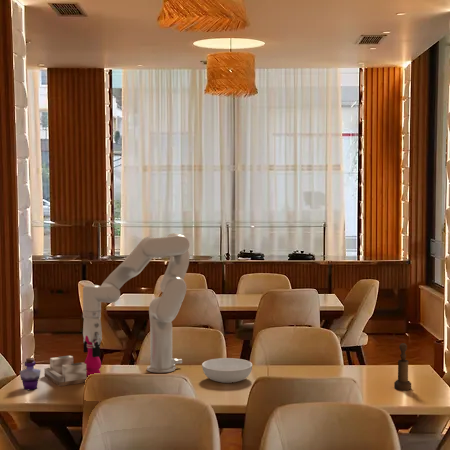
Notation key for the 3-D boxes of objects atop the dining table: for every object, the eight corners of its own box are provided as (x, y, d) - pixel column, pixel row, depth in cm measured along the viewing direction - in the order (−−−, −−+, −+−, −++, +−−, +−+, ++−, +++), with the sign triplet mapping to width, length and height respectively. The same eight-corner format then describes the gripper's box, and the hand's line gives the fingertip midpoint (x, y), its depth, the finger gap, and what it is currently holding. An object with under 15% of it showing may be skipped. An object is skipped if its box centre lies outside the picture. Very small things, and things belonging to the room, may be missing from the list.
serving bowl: (193, 383, 313) (193, 366, 312) (215, 371, 332) (215, 356, 331) (240, 389, 304) (240, 372, 304) (260, 377, 323) (260, 360, 323)
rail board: (71, 372, 330) (71, 354, 330) (87, 381, 315) (87, 363, 315) (44, 376, 324) (44, 358, 323) (59, 386, 309) (59, 367, 308)
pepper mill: (97, 377, 322) (97, 330, 320) (81, 377, 323) (81, 329, 322) (104, 373, 329) (103, 327, 327) (88, 372, 330) (87, 326, 329)
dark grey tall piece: (413, 387, 306) (414, 342, 305) (408, 391, 300) (409, 345, 299) (397, 385, 309) (397, 341, 308) (392, 389, 304) (392, 344, 303)
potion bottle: (24, 385, 311) (24, 355, 310) (45, 385, 309) (44, 356, 308) (15, 390, 302) (14, 360, 301) (36, 391, 301) (35, 361, 300)
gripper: (108, 316, 319) (108, 357, 320) (92, 310, 334) (92, 349, 334) (91, 318, 315) (91, 359, 316) (75, 311, 330) (75, 351, 331)
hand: (91, 354), depth 325 cm, fingers open, 9 cm apart
